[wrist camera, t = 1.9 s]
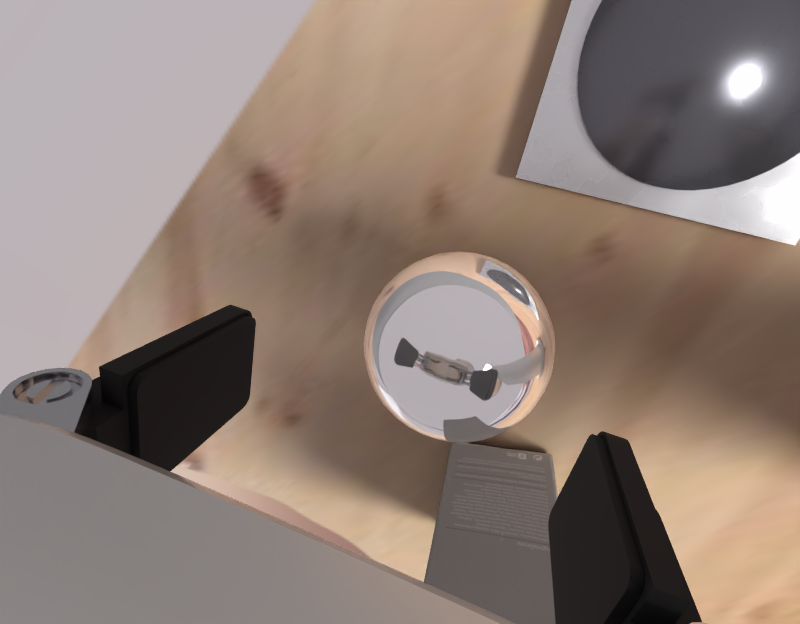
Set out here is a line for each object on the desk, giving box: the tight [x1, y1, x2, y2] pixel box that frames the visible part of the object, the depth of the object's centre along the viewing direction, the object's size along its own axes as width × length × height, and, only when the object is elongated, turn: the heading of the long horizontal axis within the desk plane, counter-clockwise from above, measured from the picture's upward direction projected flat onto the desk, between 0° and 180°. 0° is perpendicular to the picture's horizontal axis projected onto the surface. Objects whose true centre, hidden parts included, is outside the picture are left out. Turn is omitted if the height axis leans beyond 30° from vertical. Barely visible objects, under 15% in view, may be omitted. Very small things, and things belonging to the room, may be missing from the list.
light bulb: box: [364, 251, 555, 443], centre depth 17 cm, size 7×7×12 cm
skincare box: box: [424, 442, 558, 624], centre depth 20 cm, size 8×7×16 cm
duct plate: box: [516, 0, 800, 245], centre depth 16 cm, size 12×12×1 cm
